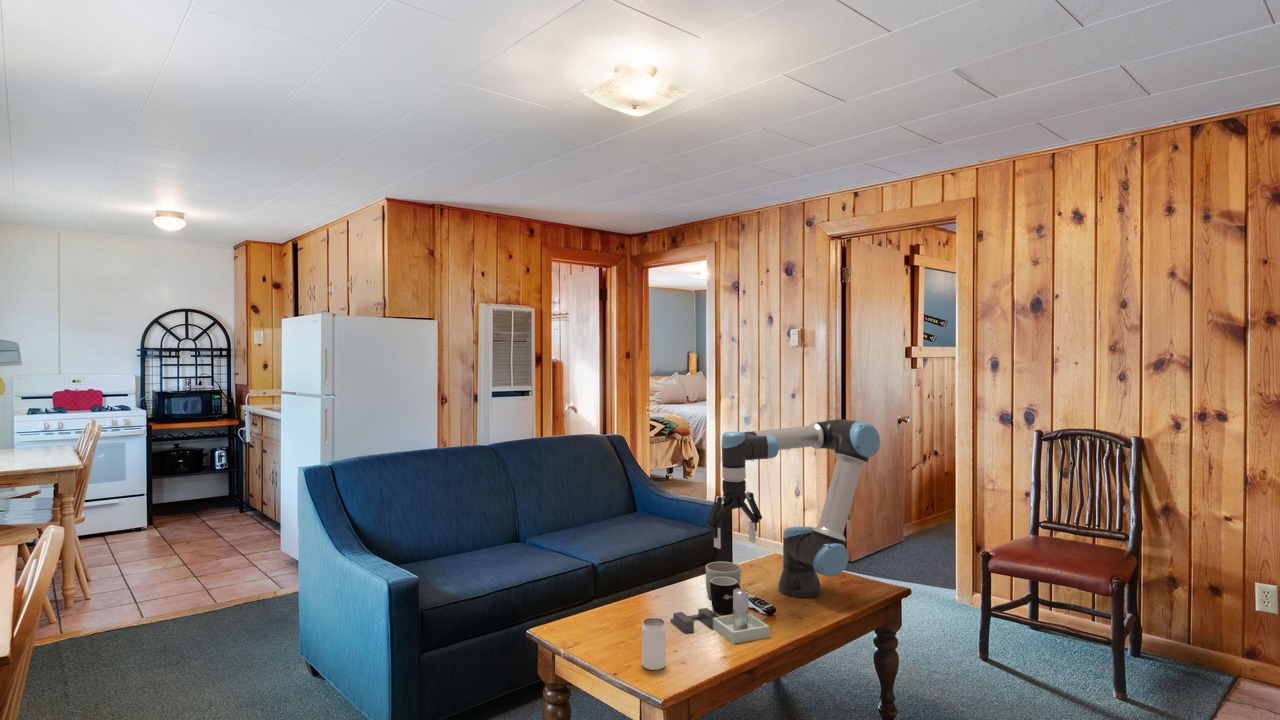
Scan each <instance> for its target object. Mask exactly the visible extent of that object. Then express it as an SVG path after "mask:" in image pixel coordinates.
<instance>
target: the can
mask: <svg viewBox="0 0 1280 720" xmlns="http://www.w3.org/2000/svg"><path fill="white" fill-rule="evenodd" d="M666 630H667V629H666V625H665V620H663V619H661V618H657V617H649V618H646V619H644V620H643V625H642V628H641V666H642V667H643V668H644V669H646V670H649V671H659V670H663V668H665V666H666V655H667V653H666V651H667V650H666V647H667V646H666V645H667V644H666V643H667V642H666V637H667V636H666V632H667V631H666Z"/></svg>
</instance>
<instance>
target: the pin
mask: <svg viewBox="0 0 1280 720" xmlns="http://www.w3.org/2000/svg"><path fill="white" fill-rule="evenodd" d="M748 613H749V590H747V589H745V588H741V589H734V590H733V612H732V614H733V631H739V630H745V629H748Z"/></svg>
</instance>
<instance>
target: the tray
mask: <svg viewBox="0 0 1280 720" xmlns="http://www.w3.org/2000/svg"><path fill="white" fill-rule="evenodd" d="M712 630H714V631H715V632H716V633H718V634H719V635H721V636H722V637H723V638H725V639H726V640H727V641H729V642H731V643H732V644H733V645H734V644H741V643H746V642H750V641H756V640H762V639H767V638H770V625H768V624H767V623H764V621H762V620H760V619H758V618H757V617H756V616H754V615H752V614H751V613H749V612H748V629H745V630H739V631H733V613H731V614H725V615H721V616H720V615H719V617H717V618H713V629H712Z"/></svg>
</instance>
